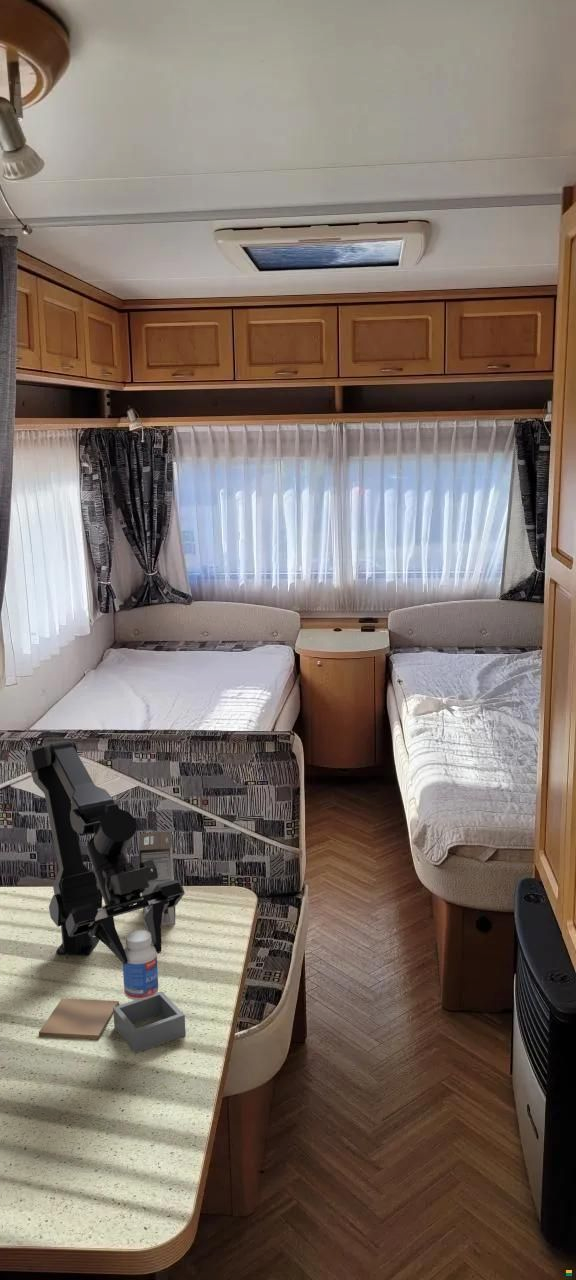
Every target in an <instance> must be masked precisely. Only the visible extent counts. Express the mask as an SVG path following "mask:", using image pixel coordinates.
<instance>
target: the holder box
mask: <svg viewBox="0 0 576 1280" xmlns="http://www.w3.org/2000/svg"><path fill="white" fill-rule="evenodd" d="M159 1015H161V1016H162V1018H163V1019H160V1020H158V1021H155V1022H152V1023H149V1024H147V1025H143V1026H141V1027H138V1028H137V1027H136V1026H135V1024H137V1023H140V1022H143V1021H145V1019H146V1020H148V1019H151V1018H154V1017H157V1016H159ZM112 1016H113V1024H114V1025H113V1026H114V1029H115V1030H116V1032H117V1033H118V1034H119V1035H120V1036H121V1037H122V1039H123V1040H124V1041H125V1043H126V1044H127V1045H128V1046H129V1048H130V1049H131V1050H132V1051H133V1052H134V1055H136V1054H138V1053H141V1052H144V1051H146V1050H149V1049H153V1048H155V1047H157V1046H160V1045H162V1044H166V1043H168V1042H171V1041H173V1040H176V1038H177V1039H178V1038H179V1039H180V1038H182V1037H185V1036H186V1035H187V1032H186V1030H187V1029H186V1018H185V1017H186V1016H185V1014H184V1012H183V1011H182V1010H181V1009H180V1008H179V1007H178V1006H177V1005H176V1004H175V1003H174V1002H173V1001H172V1000H171V999H170V997H168V996H167V994H166V993H165V992H163V990H162V991H158V992H157V993H156V995H154V996H153V997H151V998H149V999H146V1000H141V1001H137V1000H131V1001H129V1002H126V1003H125V1002H124V1003H123V1004H119V1005H118V1006H116V1007H113V1015H112ZM184 1035H185V1036H184Z"/></svg>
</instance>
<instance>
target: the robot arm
mask: <svg viewBox="0 0 576 1280" xmlns="http://www.w3.org/2000/svg"><path fill="white" fill-rule="evenodd" d="M80 757H81V756H79V754H78V747H77V744H76V742H75V741H74V740H69V739H68V740H61V741H56V742H51V743H49V744H46V745H45V744H44V745H41V746H35V747H32V748H31V749H30V752H29V753H27V754H26V755H25V760H26V761H25V762H26V767H27V770H28V773H30V774H31V778H32V781H33V783H34V784H35V786H37V788H38V789H39V790H40V791H41V792H42V793H43V794H44V799H45V803H46V808H47V814H48V815H47V816H48V819H49V820H48V821H49V825H50V829H51V835H52V841H53V845H54V851H55V856H56V860H57V866H58V867H57V868H58V872H57V874H56V876H55V880H54V883H53V885H52V886H53V887H52V888H53V893H54V894H53V895H52V898H51V900H50V902H49V905H48V910H49V916H50V919H51V920H52V922H53V923H54V924H55V925H56V927H60V930H61V931H60V932H61V944H60V945H59V947H58V948H57V949H56V951H55V953H56V954H55V955H63V954H64V955H65V954H67V956H90V954H91V952H92V951H94V949H95V947H96V946H97V944H98V943H99V941H100V942H102V943H103V944H104V945H105V946H106V947H107V948H108V949H109V950H110V951H111V952H112V953H113V954H114V955H115V957H116V958H117V959H118V960H119V961H120V962H121V963H122V965H123V964H127V962H128V961H127V957H126V953H125V951H124V949H125V947H124V946H123V943H122V942H121V939H120V936H119V933H118V932H117V929H116V925H115V919H114V917H116V916H121V915H124V914H128V913H130V912H134V911H139V910H143V908H145V909H146V912H147V914H146V916H145V917H143V921H144V920H145V923H146V925H147V926H146V928H147V931H149V932H150V933H151V939H152V942H151V943H152V945H154V947H155V948H156V953H157V955H158V954H160V953H162V925H161V920H162V914H163V912H164V911H165V909H168V908H172V907H174V906H175V907H176V906H177V905H178V903H179V902H180V900H181V899H182V898H183V897H184V895H185V894H186V892H185V890H184V887H183V884H182V883H181V882H179V880H177V879H174V880H172V881H168V882H165V883H161V884H158V885H156V887H155V889H154V890H153V892H152V893H150V894H147V895H143V896H142V893H143V892H144V890H145V888H148V887H150V886H149V881H150V880H154V879H157V878H158V873H157V869H156V866H155V864H154V861H153V859H151V860H148V861H144V862H140V861H139V868H137V869H135V866H134V864H133V863H132V862H129V859H128V856H127V853H126V851H127V850H128V848H129V846H130V844H131V843H132V840H133V838H134V836H135V834H136V831H137V827H138V824H137V820H136V818H135V817H134V816H133V815H132V814H131V813H130V812H129V811H127V810H124V809H122V807H121V806H120V805H119V804H118V802H117V801H115V800H114V799H113V797H112V796H111V794H110V793H109V792H108V791H107V790H106V789H104V788H102V787H100V786H96V784H95V783H94V781H93V779H92V778H91V775H90V774H89V772H88V770H87V768H86V766H85V765H84V763H83V761H82V759H81V758H80ZM92 834H94V836H92V837H91V838H90V839H89V842H88V843H87V846H86V853H87V856H88V857H89V861H90V862H91V866H92V869H93V870H90V869H89V868H88V867H87V866H86V865H85V864H84V860H83V855H82V851H81V849H82V848H81V846H80V840H79V836H80V837H83V836H84V837H85V836H88V835H92ZM103 902H104V906H103Z"/></svg>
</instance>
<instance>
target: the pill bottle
mask: <svg viewBox="0 0 576 1280" xmlns="http://www.w3.org/2000/svg"><path fill="white" fill-rule="evenodd" d="M124 951H125V953H126V957H127V961H128V962H127V964H123V963H122V973H123V976H122V977H123V991H124V995H125V997H126V998H128V999H129V1000H131V1001H134V1000H137V1001H141V1000H146V999H149V998H151V997H153V996H154V995H156V993H158V992H159V974H158V973H159V971H158V970H159V969H158V957H157V955H158V953H157V951H156V948H155V947H154V945H153V942H152V939H151V933H150V932H149V931H148V930H145V929H137V930H132V931H130V932H128V933H127V934H126V936H125V947H124Z"/></svg>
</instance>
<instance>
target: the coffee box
mask: <svg viewBox="0 0 576 1280" xmlns="http://www.w3.org/2000/svg"><path fill="white" fill-rule="evenodd" d="M138 843H139V844H138V846H139V847H138V854H139V863H140V862H144V861H148V860H151V859H153V861H154V864H155V866H156V869H157V873H158V878H157V879H154V880H150V881H149V886H150V887H148V888H145V890H144V892H143V893H141V896H143V895H147V894H150V893H152V892H153V890H154V889H155V887H156V885H158V884H161V883H165V882H168V881H172V880H175V875H174V874H175V873H174V858H173V843H172V831H163V832H161V831H151V832H142V833H139V841H138ZM146 914H147V912H146V909H145V908H142V916H143V918H144V917H145V916H146ZM175 924H176V906H174V907H172V908H168V909H165V911H164V912H163V914H162V920H161V926H166V925H167V926H169V925H175ZM143 926H144V927H147V925H146V923H145V920H144V919H143Z"/></svg>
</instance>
